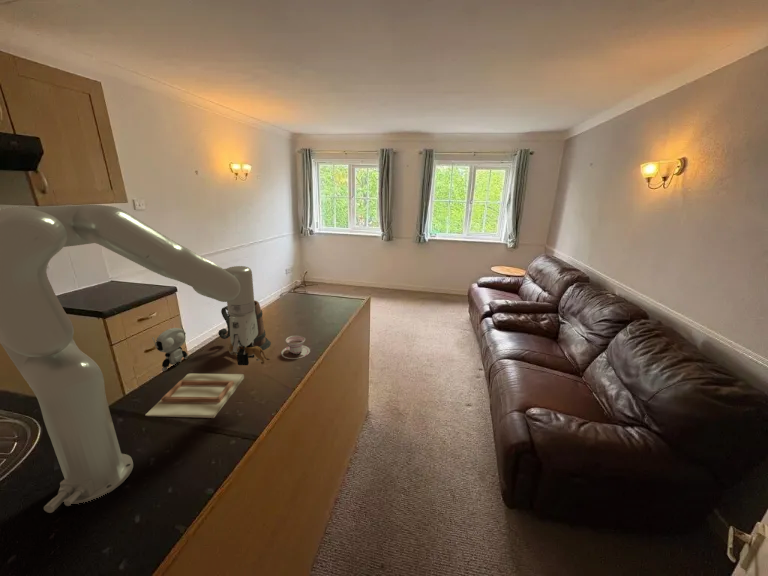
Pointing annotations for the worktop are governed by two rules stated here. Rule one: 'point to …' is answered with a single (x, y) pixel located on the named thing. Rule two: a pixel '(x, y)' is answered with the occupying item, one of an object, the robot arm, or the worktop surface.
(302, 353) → the teacup
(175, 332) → the robot toy
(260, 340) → the tankard
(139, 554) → the worktop surface
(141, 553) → the worktop surface
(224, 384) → the base plate
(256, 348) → the lion figurine
